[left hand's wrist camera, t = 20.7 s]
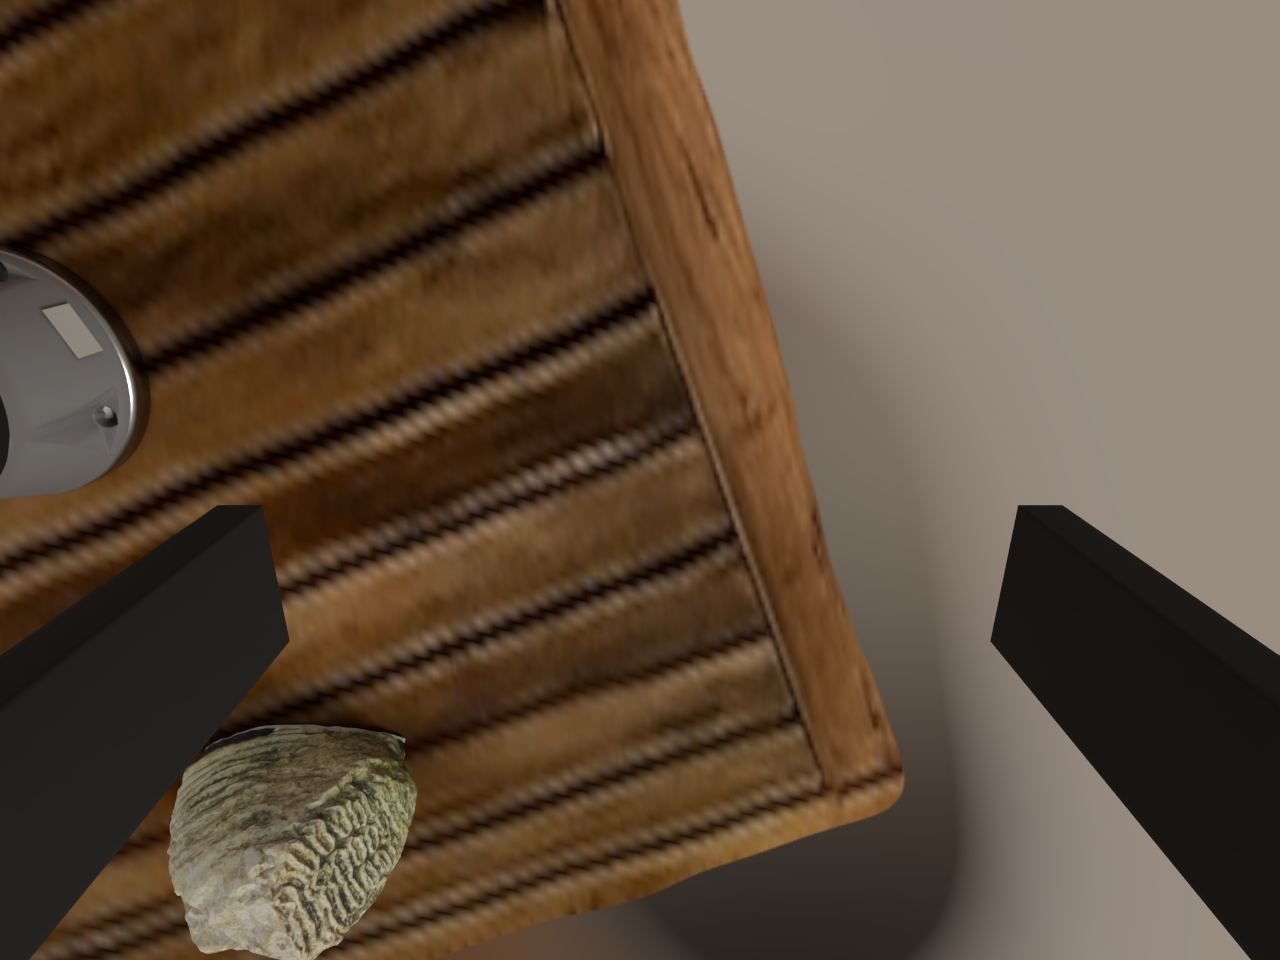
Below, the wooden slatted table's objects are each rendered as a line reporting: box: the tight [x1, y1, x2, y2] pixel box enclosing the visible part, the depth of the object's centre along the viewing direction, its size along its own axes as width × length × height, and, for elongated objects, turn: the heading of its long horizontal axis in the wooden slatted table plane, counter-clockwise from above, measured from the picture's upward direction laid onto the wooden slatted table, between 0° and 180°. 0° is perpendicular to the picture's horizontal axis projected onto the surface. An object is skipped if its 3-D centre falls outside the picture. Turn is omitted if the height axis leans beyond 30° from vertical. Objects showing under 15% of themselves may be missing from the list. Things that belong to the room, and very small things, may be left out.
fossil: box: [167, 724, 418, 960], centre depth 48 cm, size 9×18×15 cm, turn 106°
